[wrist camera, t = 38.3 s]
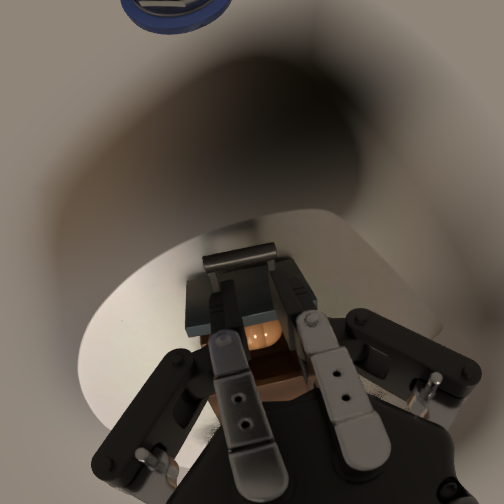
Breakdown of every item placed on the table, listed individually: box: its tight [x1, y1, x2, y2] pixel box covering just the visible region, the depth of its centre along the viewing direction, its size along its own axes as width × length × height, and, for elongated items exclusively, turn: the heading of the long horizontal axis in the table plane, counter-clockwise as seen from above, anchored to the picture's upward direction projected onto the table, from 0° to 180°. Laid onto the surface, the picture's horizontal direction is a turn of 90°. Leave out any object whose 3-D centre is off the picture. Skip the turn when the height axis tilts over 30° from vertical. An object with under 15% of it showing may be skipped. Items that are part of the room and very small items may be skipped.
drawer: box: [185, 242, 317, 381], centre depth 28 cm, size 18×11×7 cm, turn 8°
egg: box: [244, 320, 282, 351], centre depth 29 cm, size 6×4×4 cm
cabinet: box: [208, 370, 306, 425], centre depth 34 cm, size 15×13×9 cm
